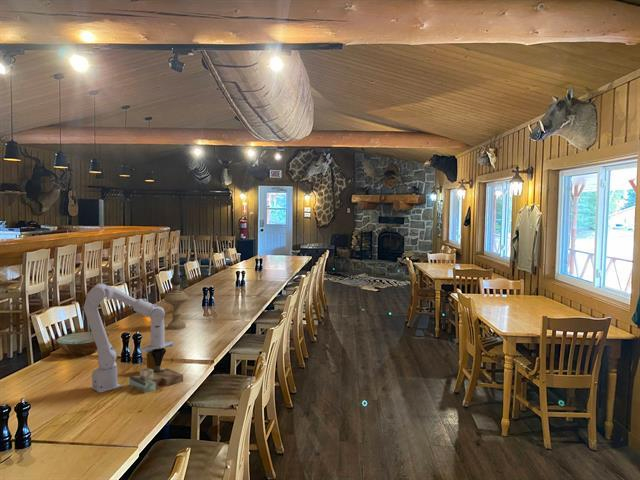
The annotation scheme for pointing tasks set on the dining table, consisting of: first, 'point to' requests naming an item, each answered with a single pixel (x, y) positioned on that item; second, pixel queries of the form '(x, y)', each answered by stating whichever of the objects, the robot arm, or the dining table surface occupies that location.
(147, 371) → the block
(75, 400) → the dining table surface
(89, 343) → the bowl
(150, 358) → the condiment
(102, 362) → the robot arm
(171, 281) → the oil lamp
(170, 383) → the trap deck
